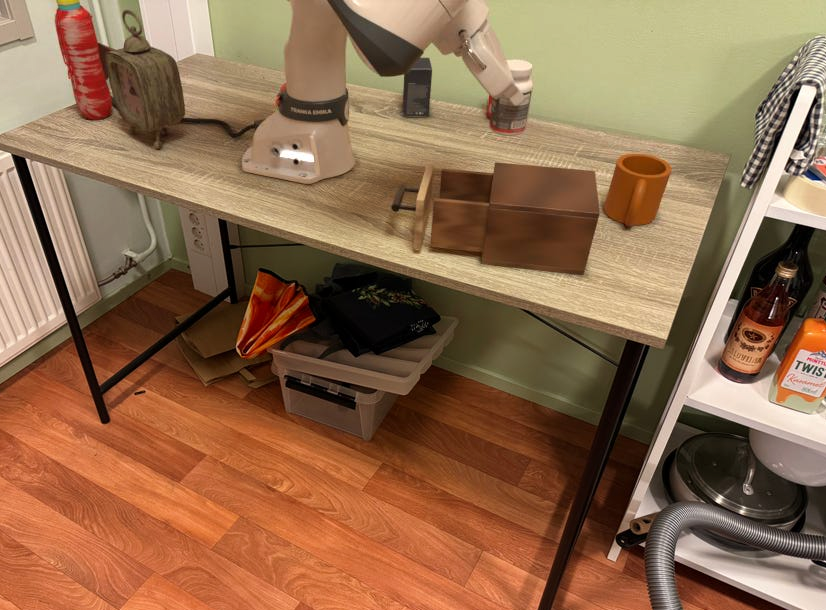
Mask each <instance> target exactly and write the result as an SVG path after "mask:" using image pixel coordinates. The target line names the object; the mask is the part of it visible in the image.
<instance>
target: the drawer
mask: <svg viewBox="0 0 826 610" xmlns="http://www.w3.org/2000/svg"><path fill="white" fill-rule="evenodd" d="M434 171H435V164H434V163H426V165H425V170H424V172H423V176H422V180H421V182H420V186H419V188H417V187H407V186H406V185H405V184H403V183H401V184H398V186H397V188H396V191H395V194H394V197H393V200H392V203H391V206H390V210H391V211H392V212H394V213H398V212H399V211H400V210H401V211H411V212H415V213H414V214H415V218H414V231H413V232H414V233H413V250H414V251H415V250H417V251H421V250H422V248H423V247H422V246H423V243H424V239H425V235H426V231H427V227H428V223H429V220H430V215H431V212H432V217H431V218H432V219H431V229H430V242H429V243H430V244H429V247H432V248H442V249H451V250H459V251H467V252H468V251H469V252H477V253H483V247H484V240H485V233H486V225H487V218H488V211H489V204H490V196H491V188H492V181H493V173H494V172H487V171H485V172H484V171H475V170H465V169H464V170H462V169H452V168H441V171H440V183H439V195H438V197H434V198H433V184H434ZM406 193H414V194H417V196H416V200H415V205H407V204H402V203H403V200H404V197H405V194H406ZM432 198H433V205H432ZM432 206H433V207H432ZM431 208H432V209H431Z"/></svg>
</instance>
